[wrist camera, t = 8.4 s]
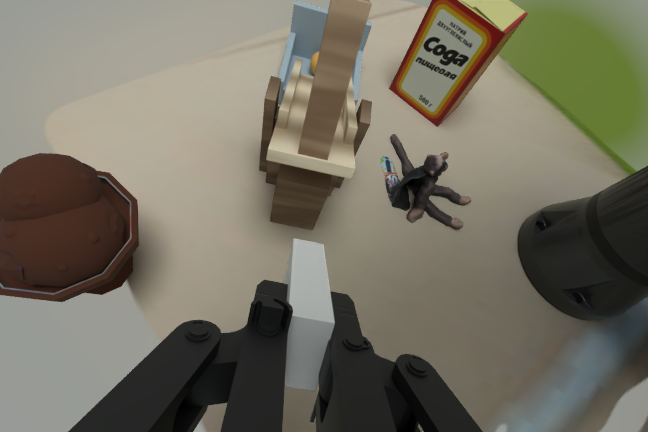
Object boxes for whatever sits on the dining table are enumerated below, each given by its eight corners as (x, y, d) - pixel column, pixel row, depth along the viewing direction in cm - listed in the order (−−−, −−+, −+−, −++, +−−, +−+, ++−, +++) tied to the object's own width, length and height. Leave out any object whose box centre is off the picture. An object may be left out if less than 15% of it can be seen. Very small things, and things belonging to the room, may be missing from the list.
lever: (351, 179, 29) (408, 15, 21) (266, 159, 28) (294, -18, 20) (346, 93, 44) (377, -18, 37) (291, 79, 43) (312, -37, 36)
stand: (334, 234, 41) (365, 180, 31) (247, 216, 40) (249, 154, 29) (343, 159, 46) (372, 91, 36) (266, 141, 45) (273, 65, 35)
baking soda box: (389, 88, 54) (440, -17, 40) (411, 71, 57) (466, -33, 43) (437, 126, 53) (507, 30, 39) (457, 106, 56) (530, 10, 42)
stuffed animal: (450, 248, 43) (407, 167, 38) (389, 243, 51) (348, 176, 46) (488, 188, 48) (455, 111, 43) (428, 192, 56) (394, 127, 51)
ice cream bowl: (21, 245, 34) (-118, 152, 21) (142, 202, 38) (90, 102, 25) (53, 346, 31) (-87, 312, 18) (180, 287, 35) (143, 224, 22)
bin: (349, 121, 50) (366, 76, 43) (275, 102, 48) (280, 53, 41) (355, 69, 55) (371, 22, 48) (288, 52, 53) (295, 0, 46)
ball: (325, 76, 53) (331, 52, 52) (334, 81, 51) (340, 56, 49) (304, 72, 52) (309, 46, 50) (312, 77, 49) (317, 50, 48)
